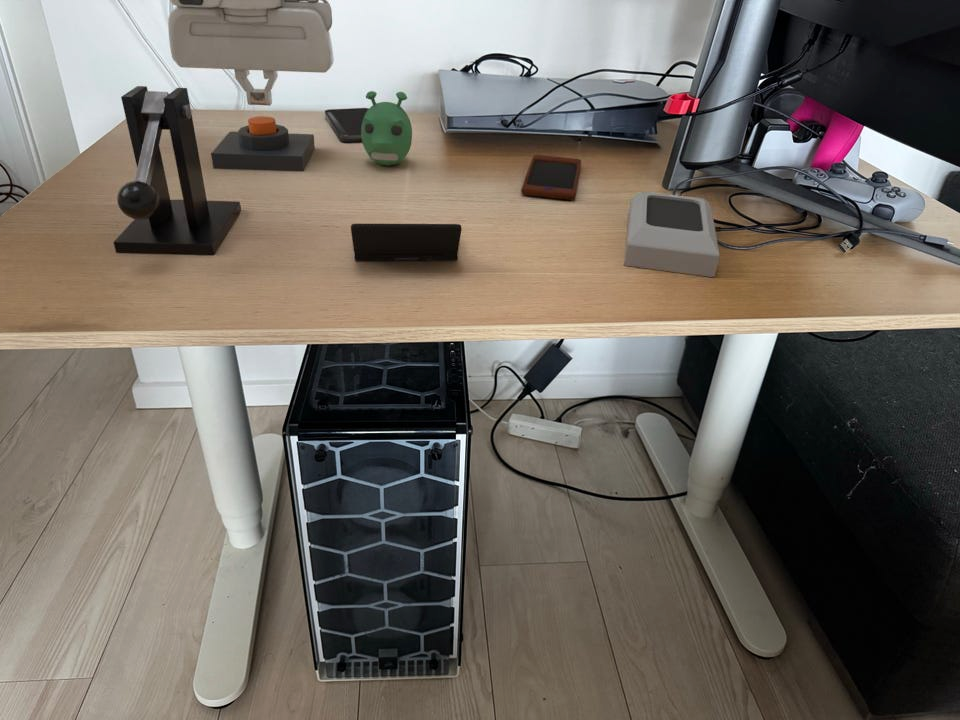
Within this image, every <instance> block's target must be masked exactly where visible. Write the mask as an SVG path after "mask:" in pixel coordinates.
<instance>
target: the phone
mask: <svg viewBox="0 0 960 720" xmlns="http://www.w3.org/2000/svg"><path fill="white" fill-rule="evenodd" d="M369 108H370V107H369ZM369 108H368V107H351V108H350V107H349V108H332V109H325V110H324V119H325V121H326V122H327V124H328V125H329V127H330V128H331V130H332V131H333V133H334V135H335V136H336V137H337V139H338V141H339V142H340V143H343V144H351V143H352V144H357V143H363V142H362V137H361V127H362V122H363V119H364V116H365V114H366V112H367V111H368V109H369Z"/></svg>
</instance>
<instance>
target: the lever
mask: <svg viewBox="0 0 960 720" xmlns="http://www.w3.org/2000/svg"><path fill="white" fill-rule="evenodd" d="M169 94H170V93H169V92H168V91H156V90H155V91H154V90H148V91H146V92H145V97H144V101H143V105H142V109H141V114H142V116H143V118H144V120H145V121H146V123H147V128H146V133H145V137H144V141H143V146H142V150H141V155H140V159H139V163H138V168H137V167H136V172H135V177H134V180H132V181H131V180H130V181H127V182H126V183H124V184H123V185H122V186H121V187H120V188H119V190H118V192H117V196H116V201H117V205H118V208H119V209H120V211H121V212H122V213H123V214H124V215H125V216H127V217H128V218H130V219H132V220H134V219H136V220H144V219H148V218H150V217H152V216H153V215H154V214H155V213H156V212H157V210H158V207H159V197H158V194H157V192H156V191H155V190H154V188H153V187H151V186H150V184H151V179H152V175H153V170H154V165H155V161H156V156H157V152H158V147H160V142H161V138H162V133H163V130H164V131H165V130H166V131H170V130H169V125H168V120H167V114H166V109H165V104H164V98H165V97H166V96H167V95H169Z"/></svg>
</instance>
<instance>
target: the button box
mask: <svg viewBox="0 0 960 720" xmlns="http://www.w3.org/2000/svg"><path fill="white" fill-rule="evenodd" d="M276 130H277V132H276V133H274V134H268V135H255V134H251V133H250V132H249V125H245V126H242V127H240V128H239V129H238V130H237V131H229V132H228V133H227V134H226V135H225V136H224V137H223V139H222V140H221V141H220V142H219V144H218V145H216V147H215V148H214V149H213V150H212V151H211V153H210V157H211V163H212V168H213V170H215V169H216V170H242V171H243V170H244V171H250V170H251V171H275V172H305V170H306V168H307V165H308V163H309V161H310V159H311V158H312V156H313V153H314V151H315V149H316V146H315V135H314V134H313V133H312V134H311V133H289V129H288V128H286V127H285V126H284V125H280V124H276Z"/></svg>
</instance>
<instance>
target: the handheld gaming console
mask: <svg viewBox="0 0 960 720" xmlns="http://www.w3.org/2000/svg"><path fill="white" fill-rule="evenodd" d="M462 229H463V227H462V225H461V224H459V223H352V224H351V225H350V233H351V241H352V247H353V248H352V249H353V252H354V261H355V262H358V261H359V262H364V261H365V262H372V261H373V262H375V261H376V262H377V261H378V262H379V261H381V262H391V261H398V260H399V261H400V260H401V261H402V260H403V261H407V260H408V261H409V260H411V261H412V260H413V261H420V262H423V261H427V262H428V261H429V262H430V261H431V262H432V261H437V262H439V261H440V262H441V261H442V262H443V261H445V262H446V261H449V262H450V261H453V262H454V261H455V262H457V261H458V260H459V255H458V254H459V248H460V241H461V236H462V231H463V230H462Z"/></svg>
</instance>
